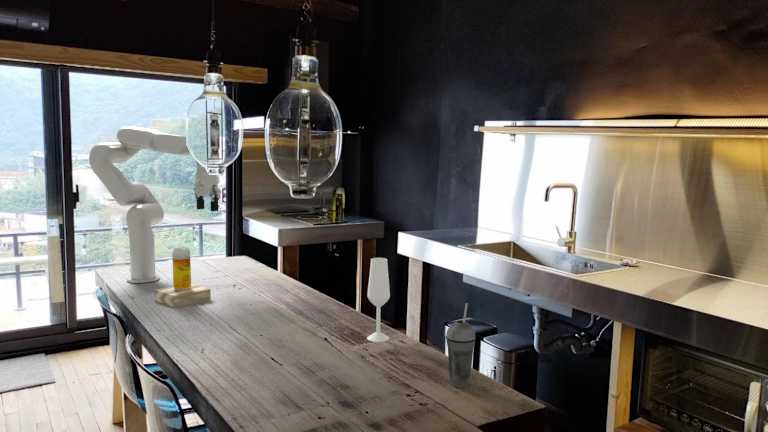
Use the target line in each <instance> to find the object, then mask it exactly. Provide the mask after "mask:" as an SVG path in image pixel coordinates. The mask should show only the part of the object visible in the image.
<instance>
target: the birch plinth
mask: <svg viewBox="0 0 768 432" xmlns="http://www.w3.org/2000/svg"><path fill="white" fill-rule="evenodd" d="M211 292H212V291H211V288H207V287H205V286H204V287H203V286H200V285H197V284H194V283H191V287H190V289H189V290H186V291H176V290H175V289H174V288H173V285H172V286H169V287H168V286H167V287H162V288H157V289H154V301H155V302H157V303H162V304H164V305H167V306H170V307H173V308H175V309H177V308H181V307H185V306H189V305H196V304H198V303H203V302H208V301H210V300H211V299H212V298H211Z"/></svg>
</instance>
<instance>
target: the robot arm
mask: <svg viewBox="0 0 768 432" xmlns="http://www.w3.org/2000/svg"><path fill="white" fill-rule="evenodd" d="M185 136H186V135H181V134H180V135H179V134H172V133H171V134H170V133H163V132H160V131H159V130H157V129H152V128H151V129H150V128H145V127H141V126H133V125H132V126H131V125H130V126H129V125H128V126H122V127H121V128H120V129H118V131H117V133H116V140H117V142H101V143H97V144H95V145H94V146H92V148H91V150H90V152H89V157H88V162H89V165H90V168H91V170H92V171H93V173H94V174H95V175H96V177H97V178H98V179H99V180H100V181H101V182H102V184H103V185H104V187H105V188H106V189H107V191H108V193H109V194H110V195H111V196H112V198H113V199H114V201H115V202H116V203H117V204H118V205H119V206H120V207H130V206H132V207H130V208H129V209H128V210H127V211H126V215H125V220H126V221H125V222H126V225H127V229H128V238H129V241H128V243H129V244H128V245H129V261H130V262H129V264H130V269H129V273H130V276H127V277H126V281H127V282H128V283H131V284H146V283H153V282H156V281H159V280H160V277H161V276H160V275H159V274H156V250H155V248H156V247H155V235H154V231H153V228H152V226H155V225H158V224H160V223H161V222H162V221H163V220H164V216H165V212H164V208H163V207H162V205H161V204H160V202H159V201H158V200H157V198H156V197H155V196H154V194H153V193H152V191H151V190H150V189H149V188H148V187H147V186H146V185H145V184H143V183H141V182H138V181H137V182H131V181H129V180H128V178H127V177H126V176H125V174H124V173H123V172H122V171H121V170H120V169H119V168H118V167H117V166H115V165H114V164H120V163H121V164H122V163H125V162H128V161H129V160H130V159H132V158H133V157H134V156H136V155H137V154H138V153H139V152H141V151H142V150H144V151H145V150H146V151H152V152H157V153H162V154H163V153H164V154H170V155H178V156H179V155H180V156H184V155H185V156H186V155H188V156H190V155H191V154H190V152H189V150H188V148H187V146H186V137H185ZM191 156H192V155H191ZM193 190H194V191H193V192H194V196H195V200H196V210H204V209H205V199H204V197H209V198H210V212H218V211H219V201H220V198H221V193H222V190H221V189H220V188H219V182H218V174H217V175H209V174H208V173H207V171H206V169H205V168H204V167H202V166H201V165H200V164H199V163H198V162H197V161H196V171H195V177H194V188H193Z"/></svg>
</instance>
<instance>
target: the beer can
mask: <svg viewBox="0 0 768 432" xmlns="http://www.w3.org/2000/svg"><path fill="white" fill-rule="evenodd" d="M191 266H192V265H191V251H190V249H189V247H175V248H173V250H172V278H173V279H172V281H173V282H172V286H173V288H174V289H175V290H176V291H186V290H189V289H190V287H191V284H192V274H191V273H192V272H191V269H192V267H191Z"/></svg>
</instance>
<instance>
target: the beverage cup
mask: <svg viewBox="0 0 768 432" xmlns="http://www.w3.org/2000/svg"><path fill="white" fill-rule="evenodd" d="M464 305H465V306H464V313H463V319H462V320H456V321H454V322H453V323H451V324H450V325H449V326H448V328H447V331H446V333H445V334H446V335H445V339H446V346H447V355H448V356H447V358H448V360H447V361H448V373H449V374H448V375H449V376H448V377H449V384H450V385H451V386H452V387H455V388H466V387H468V386H469V383H470V377H471V368H472V361H473V354H474V347H475V343H476V340H477V339H476V338H477V337H476V332H475V330H474V328H473V326H472V325H471V324H470V323H469V322H468V321H466V317H467V312H468V311H467V310H468V303H467V302H466V303H465V304H464Z"/></svg>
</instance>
